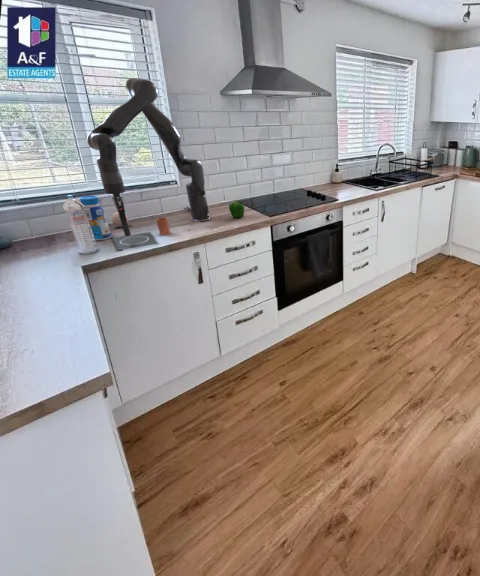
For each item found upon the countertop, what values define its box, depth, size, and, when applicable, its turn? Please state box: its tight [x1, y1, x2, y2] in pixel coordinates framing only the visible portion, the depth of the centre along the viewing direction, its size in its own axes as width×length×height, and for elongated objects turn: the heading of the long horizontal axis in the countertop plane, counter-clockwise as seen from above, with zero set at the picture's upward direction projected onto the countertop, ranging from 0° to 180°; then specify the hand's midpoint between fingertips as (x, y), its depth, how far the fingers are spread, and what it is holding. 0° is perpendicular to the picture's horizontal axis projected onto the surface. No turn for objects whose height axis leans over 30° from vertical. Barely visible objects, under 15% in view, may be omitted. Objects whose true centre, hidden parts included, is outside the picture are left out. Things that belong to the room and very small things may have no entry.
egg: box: [111, 210, 129, 228], centre depth 194 cm, size 7×7×8 cm
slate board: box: [112, 231, 158, 252], centre depth 177 cm, size 20×16×1 cm
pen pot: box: [156, 217, 171, 236], centre depth 186 cm, size 5×5×8 cm
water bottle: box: [62, 194, 99, 255], centre depth 159 cm, size 7×7×25 cm
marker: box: [116, 208, 132, 237], centre depth 170 cm, size 2×2×13 cm
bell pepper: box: [228, 199, 245, 219], centre depth 217 cm, size 8×8×10 cm
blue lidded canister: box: [79, 195, 113, 241], centre depth 176 cm, size 8×8×20 cm
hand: (123, 219), depth 170 cm, fingers closed on marker, 2 cm apart
